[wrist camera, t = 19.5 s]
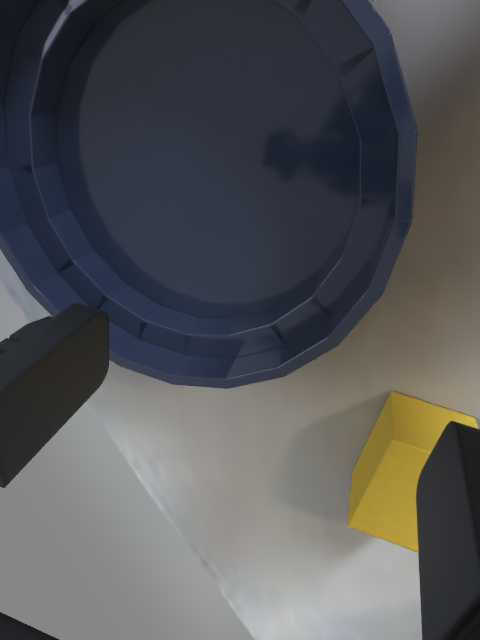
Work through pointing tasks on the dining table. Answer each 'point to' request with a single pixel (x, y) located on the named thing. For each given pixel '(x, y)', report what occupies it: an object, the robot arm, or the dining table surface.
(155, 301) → the bowl
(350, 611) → the dining table surface
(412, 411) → the yellow block
